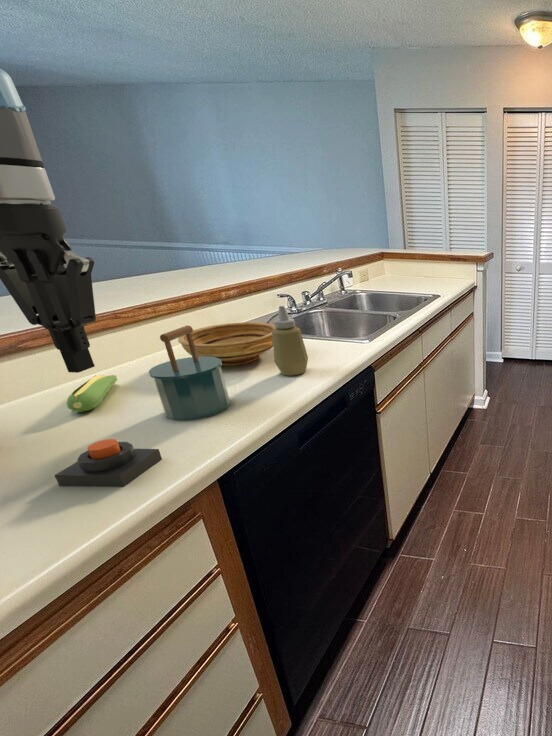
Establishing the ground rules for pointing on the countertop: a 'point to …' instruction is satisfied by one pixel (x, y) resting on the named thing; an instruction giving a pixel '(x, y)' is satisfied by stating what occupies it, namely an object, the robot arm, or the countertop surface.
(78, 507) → the countertop surface
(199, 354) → the wooden bowl
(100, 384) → the edible corn
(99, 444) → the button
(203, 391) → the jar
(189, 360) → the lid
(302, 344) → the squeeze bottle
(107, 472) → the block
